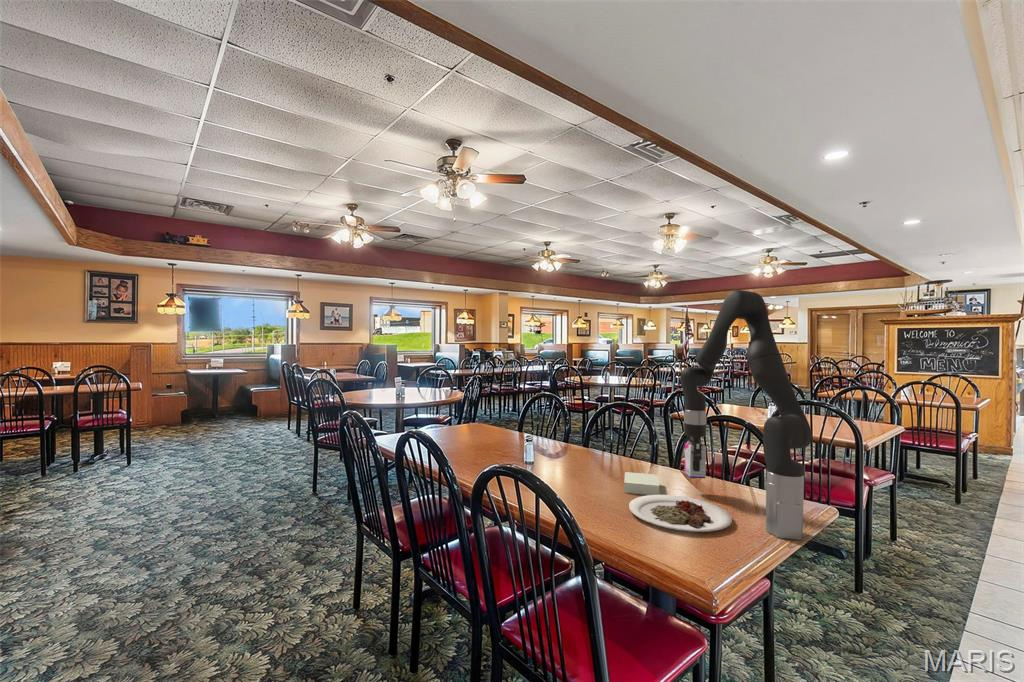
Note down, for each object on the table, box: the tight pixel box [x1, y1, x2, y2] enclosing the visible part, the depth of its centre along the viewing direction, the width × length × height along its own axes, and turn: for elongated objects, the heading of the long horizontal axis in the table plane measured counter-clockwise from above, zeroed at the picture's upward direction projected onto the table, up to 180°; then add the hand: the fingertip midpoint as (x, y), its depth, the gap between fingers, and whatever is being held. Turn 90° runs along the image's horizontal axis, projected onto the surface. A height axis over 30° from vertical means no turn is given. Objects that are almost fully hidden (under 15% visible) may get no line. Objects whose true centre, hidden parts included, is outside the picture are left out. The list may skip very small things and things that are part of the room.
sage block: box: [623, 471, 660, 496], centre depth 169 cm, size 14×12×4 cm
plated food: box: [628, 494, 733, 533], centre depth 142 cm, size 30×30×3 cm
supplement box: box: [683, 442, 707, 479], centre depth 165 cm, size 6×6×12 cm
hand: (694, 468), depth 165 cm, fingers closed on supplement box, 6 cm apart
